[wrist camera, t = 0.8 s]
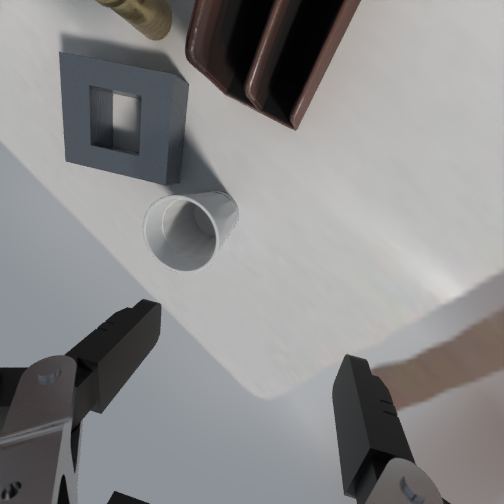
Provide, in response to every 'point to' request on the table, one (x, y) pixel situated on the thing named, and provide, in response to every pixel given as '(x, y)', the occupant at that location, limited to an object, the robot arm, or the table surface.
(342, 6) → the letter holder
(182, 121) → the grey hollow block
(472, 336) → the table surface
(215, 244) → the cup
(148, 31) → the fitting
